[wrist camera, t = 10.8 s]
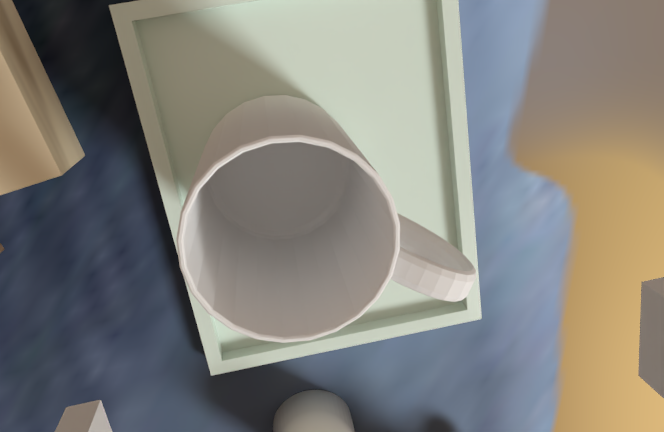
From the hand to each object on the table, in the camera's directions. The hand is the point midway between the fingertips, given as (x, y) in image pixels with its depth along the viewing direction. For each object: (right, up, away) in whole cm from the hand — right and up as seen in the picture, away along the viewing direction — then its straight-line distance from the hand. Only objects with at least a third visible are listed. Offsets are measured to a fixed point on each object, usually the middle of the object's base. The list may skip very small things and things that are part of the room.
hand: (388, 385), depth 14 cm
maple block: (-17, +10, +14) cm, 24 cm away
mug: (-2, +6, +17) cm, 18 cm away
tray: (-2, +6, +17) cm, 18 cm away
